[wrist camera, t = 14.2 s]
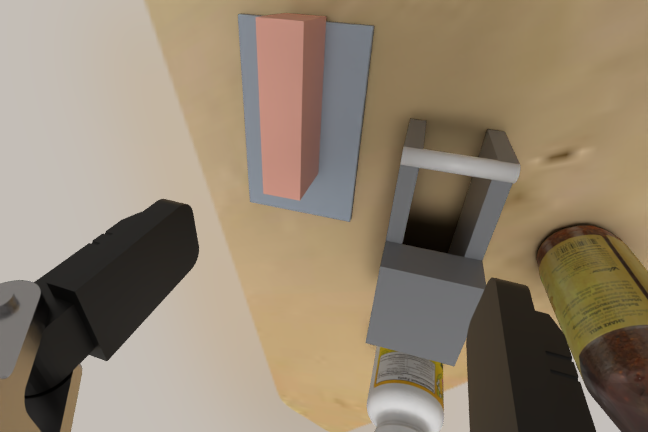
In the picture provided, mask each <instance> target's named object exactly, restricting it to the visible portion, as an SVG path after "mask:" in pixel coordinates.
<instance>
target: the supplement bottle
mask: <svg viewBox="0 0 648 432" xmlns="http://www.w3.org/2000/svg"><path fill="white" fill-rule="evenodd" d="M367 411H368V415H369V417H370V419H371V421H372V423H373V424H374V425H375V426H376V430H375V432H439V431H440V430H441V427H442V425H443V420H444V404H443V363H440V362H436V361H432V360H428V359H425V358H421V357H417V356H413V355H410V354H406V353H402V352H398V351H395V350H391V349H387V348H383V347H379V346H377V348H376V354H375V360H374V366H373V372H372V378H371V383H370V389H369V394H368V400H367Z"/></svg>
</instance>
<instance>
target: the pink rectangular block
mask: <svg viewBox="0 0 648 432" xmlns="http://www.w3.org/2000/svg"><path fill="white" fill-rule="evenodd" d="M255 18H256V41H257V63H258V86H259V108H260V131H261V154H262V176H263V194H267V195H273V196H278V197H283V198H288V199H294V200H299V201H300V200H301V198H302V197H303V196H304V194H305V193H306V191H307V190H308V188H309V187H310V185H311V184H312V182H313V181H314V179H315V178H316V176H317V175H318V171H319V152H320V132H321V112H322V93H323V73H324V53H325V34H326V16H316V15H304V14H292V13H282V14H274V15H267V16H259V17H255Z"/></svg>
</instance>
